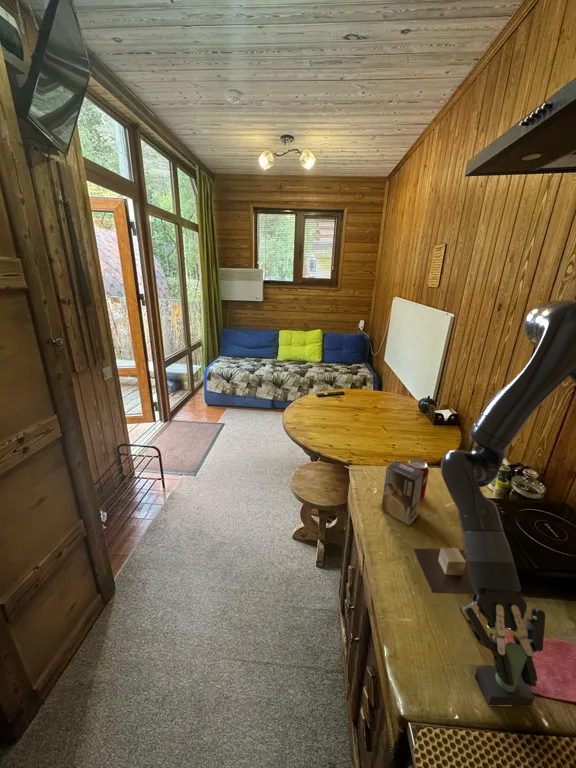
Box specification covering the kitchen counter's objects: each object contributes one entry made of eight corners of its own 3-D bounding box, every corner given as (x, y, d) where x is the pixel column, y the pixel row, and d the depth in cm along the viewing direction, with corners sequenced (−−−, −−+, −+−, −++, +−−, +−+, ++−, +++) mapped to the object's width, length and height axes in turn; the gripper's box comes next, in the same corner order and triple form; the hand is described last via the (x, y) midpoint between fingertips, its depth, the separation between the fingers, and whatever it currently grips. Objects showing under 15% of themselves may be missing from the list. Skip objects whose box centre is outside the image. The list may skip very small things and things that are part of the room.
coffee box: (418, 518, 92) (426, 472, 87) (408, 529, 87) (416, 481, 82) (389, 503, 98) (395, 459, 93) (379, 513, 93) (385, 467, 89)
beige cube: (454, 560, 76) (457, 548, 74) (462, 575, 72) (466, 562, 71) (437, 560, 76) (440, 547, 75) (445, 574, 72) (448, 561, 71)
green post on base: (474, 676, 54) (486, 637, 51) (514, 678, 54) (528, 638, 51) (488, 706, 51) (502, 665, 47) (531, 707, 50) (547, 666, 47)
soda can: (417, 504, 97) (423, 472, 94) (398, 493, 102) (402, 462, 99) (427, 496, 101) (433, 464, 98) (409, 486, 106) (413, 455, 103)
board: (481, 554, 79) (482, 550, 79) (513, 599, 68) (514, 594, 67) (411, 552, 80) (412, 548, 79) (431, 597, 68) (432, 592, 68)
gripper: (460, 558, 53) (488, 693, 45) (542, 561, 53) (584, 696, 45) (441, 556, 60) (462, 673, 52) (513, 559, 60) (546, 676, 52)
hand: (518, 683), depth 49 cm, fingers closed on green post on base, 3 cm apart
